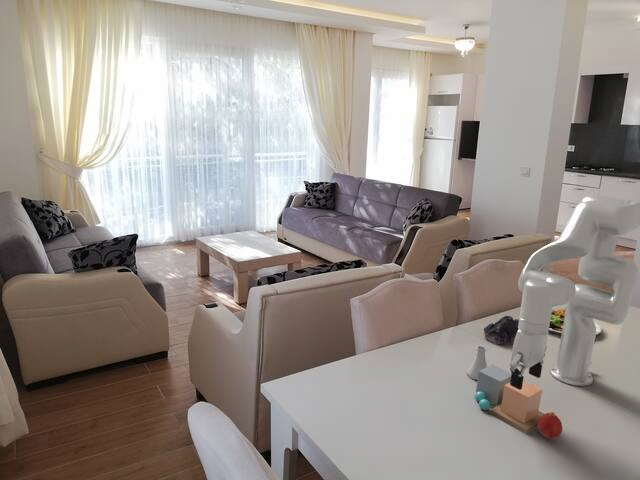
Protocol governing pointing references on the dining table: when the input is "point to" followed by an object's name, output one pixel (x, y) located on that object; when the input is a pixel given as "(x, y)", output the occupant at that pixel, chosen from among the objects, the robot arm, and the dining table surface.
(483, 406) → the teal marble
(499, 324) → the crystal cluster
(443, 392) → the dining table surface
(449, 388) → the dining table surface
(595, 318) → the robot arm
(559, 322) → the plate of food
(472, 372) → the flask
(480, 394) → the teal marble
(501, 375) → the gray cube
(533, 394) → the peach cube
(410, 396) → the dining table surface
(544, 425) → the red rounded lump
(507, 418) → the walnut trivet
